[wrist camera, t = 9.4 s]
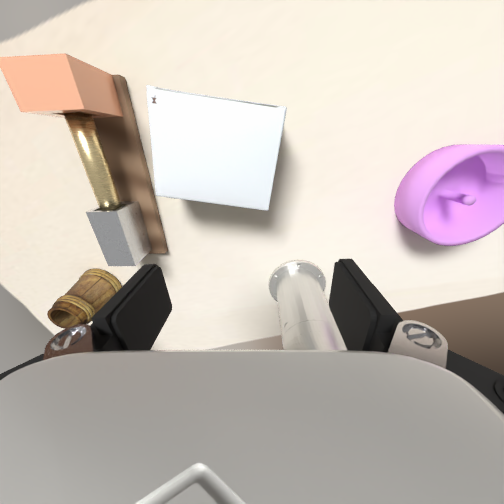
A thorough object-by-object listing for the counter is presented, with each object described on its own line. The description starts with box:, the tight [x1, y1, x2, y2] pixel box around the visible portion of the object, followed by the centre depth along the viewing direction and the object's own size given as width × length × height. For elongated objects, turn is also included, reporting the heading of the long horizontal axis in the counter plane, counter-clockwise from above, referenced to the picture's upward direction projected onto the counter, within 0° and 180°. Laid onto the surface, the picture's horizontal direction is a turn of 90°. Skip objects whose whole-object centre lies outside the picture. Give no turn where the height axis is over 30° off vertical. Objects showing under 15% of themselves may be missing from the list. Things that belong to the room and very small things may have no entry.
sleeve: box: [86, 201, 152, 266], centre depth 37 cm, size 10×5×6 cm, turn 2°
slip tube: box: [63, 112, 122, 211], centre depth 32 cm, size 20×3×3 cm, turn 2°
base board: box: [93, 75, 168, 254], centre depth 37 cm, size 29×10×2 cm, turn 2°
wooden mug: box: [47, 269, 122, 328], centre depth 42 cm, size 9×14×18 cm, turn 26°
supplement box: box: [146, 85, 287, 211], centre depth 31 cm, size 17×13×9 cm
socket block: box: [0, 54, 123, 118], centre depth 27 cm, size 5×8×8 cm, turn 92°
